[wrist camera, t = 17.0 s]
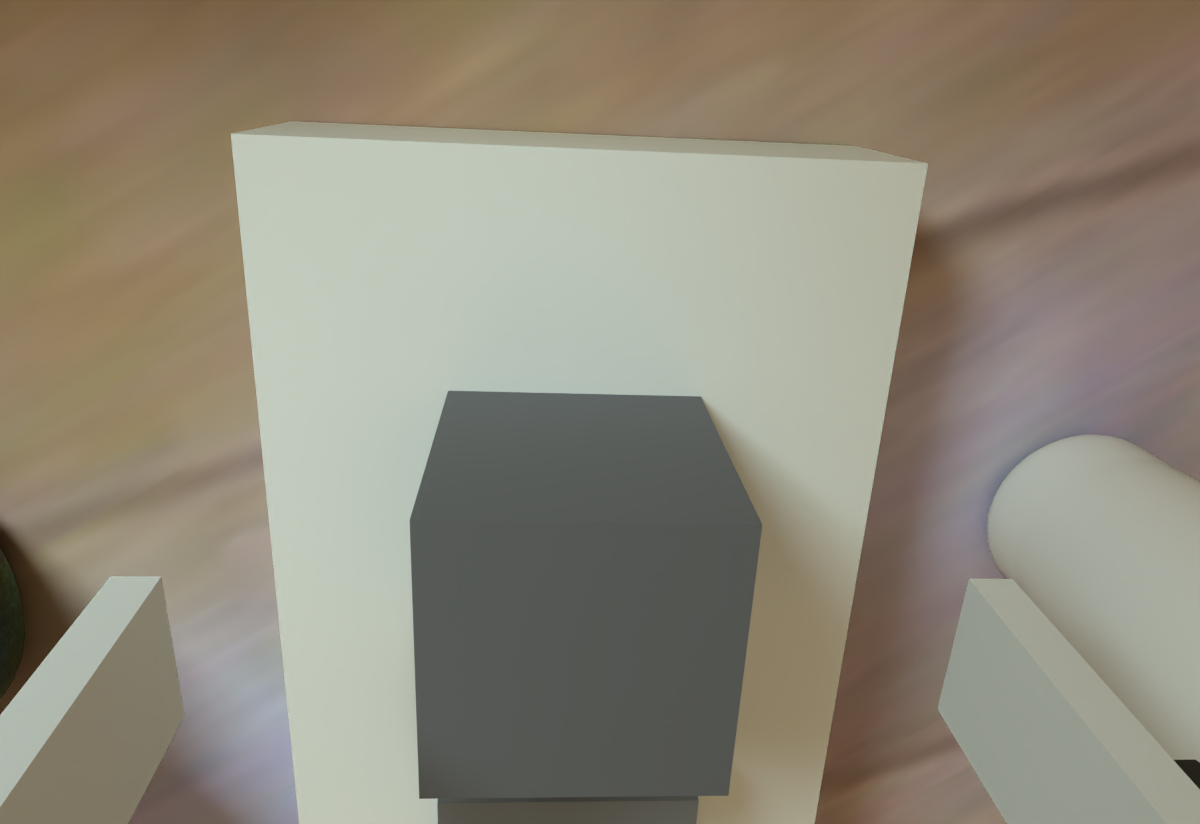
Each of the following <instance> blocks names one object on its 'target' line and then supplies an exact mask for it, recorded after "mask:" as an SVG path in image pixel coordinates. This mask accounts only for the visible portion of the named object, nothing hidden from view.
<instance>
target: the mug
mask: <svg viewBox="0 0 1200 824" xmlns="http://www.w3.org/2000/svg"><path fill="white" fill-rule="evenodd" d="M24 636H25V628H24V618H23V608H22V601H21V596H20V593H19V589H18V586H17V582H16V579H15V576H14V574H13V572H12V569H11V567H10V565H9V563H8V561H7V559H6V557H5V555H4V553H3V552H2V550H1V549H0V698H1V697H2V696H3V695H4V693H5V692H6V690H7V688H8V687H9V685H10V683H11V682H12V680H13V679H14V677H15V675H16V672H17V669H18V666H19V664H20V661H21V658H22V654H23V645H24Z"/></svg>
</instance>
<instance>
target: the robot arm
mask: <svg viewBox="0 0 1200 824" xmlns="http://www.w3.org/2000/svg"><path fill="white" fill-rule="evenodd" d="M937 709H938V711H939V712H940V714H941V716H942V717H943V719H944V721H945V722H946V724H947V726H948V727H949V729H950V731H951V732H952V734H953V736H954V737H955V739H956V741H957V742H958V744H959V746H960V747H961V749H962V751H963V752H964V754H965V756H966V757H967V759H968V761H969V762H970V764H971V766H972V767H973V769H974V770H975V772H976V774H977V775H978V777H979V779H980V780H981V782H982V784H983V785H984V787H985V789H986V790H987V792H988V794H989V795H990V797H991V799H992V800H993V802H994V804H995V805H996V807H997V809H998V810H999V812H1000V814H1001V815H1002V817H1003V819H1004V820H1005V822H1006V824H1200V762H1198V761H1197V760H1195V759H1191V760H1173V759H1172V758H1171V757H1170V756H1169V754H1168V753H1167V752H1166V751H1165V750H1164V749H1163V748H1162V747H1161V745H1160V744H1159V743H1158V742H1157V741H1156V740H1155V739H1154V738H1153V736H1152V735H1151V734H1150V733H1149V732H1148V731H1147V730H1146V729H1145V727H1144V726H1143V725H1142V724H1141V723H1140V722H1139V721H1138V720H1137V718H1136V717H1135V716H1134V715H1133V714H1132V713H1131V712H1130V711H1129V709H1128V708H1127V707H1126V706H1125V705H1124V704H1123V703H1122V702H1121V700H1120V699H1119V698H1118V697H1117V696H1116V695H1115V694H1114V693H1113V691H1112V690H1111V689H1110V688H1109V687H1108V686H1107V685H1106V684H1105V682H1104V681H1103V680H1102V679H1101V678H1100V677H1099V676H1098V674H1097V673H1096V672H1095V671H1094V670H1093V669H1092V668H1091V667H1090V665H1089V664H1088V663H1087V662H1086V661H1085V660H1084V659H1083V658H1082V656H1081V655H1080V654H1079V653H1078V652H1077V651H1076V650H1075V649H1074V647H1073V646H1072V645H1071V644H1070V643H1069V642H1068V641H1067V640H1066V638H1065V637H1064V636H1063V635H1062V634H1061V633H1060V632H1059V631H1058V629H1057V628H1056V627H1055V626H1054V625H1053V624H1052V623H1051V622H1050V620H1049V619H1048V618H1047V617H1046V616H1045V615H1044V614H1043V613H1042V611H1041V610H1040V609H1039V608H1038V607H1037V606H1036V605H1035V604H1034V602H1033V601H1032V600H1031V599H1030V598H1029V597H1028V596H1027V595H1026V593H1025V592H1024V591H1023V590H1022V589H1021V588H1020V587H1019V586H1018V584H1017V583H1016V582H1015V581H1014V580H1013V579H969V581H968V585H967V589H966V593H965V597H964V601H963V605H962V609H961V614H960V618H959V622H958V626H957V630H956V634H955V638H954V642H953V647H952V651H951V655H950V659H949V663H948V667H947V671H946V675H945V680H944V684H943V688H942V692H941V696H940V700H939V704H938V708H937ZM183 718H184V710H183V704H182V698H181V692H180V686H179V680H178V674H177V668H176V662H175V656H174V650H173V644H172V638H171V632H170V626H169V620H168V614H167V608H166V602H165V596H164V590H163V584H162V578H161V577H140V576H110V577H109V579H108V580H107V581H106V582H105V584H104V585H103V586H102V587H101V589H100V590H99V591H98V592H97V594H96V595H95V596H94V598H93V599H92V600H91V601H90V603H89V604H88V605H87V606H86V608H85V609H84V610H83V611H82V613H81V614H80V615H79V616H78V618H77V619H76V620H75V621H74V623H73V624H72V625H71V627H70V628H69V629H68V630H67V632H66V633H65V634H64V635H63V637H62V638H61V639H60V640H59V642H58V643H57V644H56V645H55V647H54V648H53V649H52V650H51V652H50V653H49V654H48V655H47V657H46V658H45V659H44V661H43V662H42V663H41V664H40V666H39V667H38V668H37V669H36V671H35V672H34V673H33V674H32V676H31V677H30V678H29V679H28V681H27V682H26V683H25V684H24V686H23V687H22V688H21V689H20V691H19V692H18V693H17V695H16V696H15V697H14V698H13V700H12V701H11V702H10V703H9V705H8V706H7V707H6V708H5V710H4V711H3V712H2V713H1V715H0V824H129V822H130V820H131V818H132V816H133V814H134V812H135V810H136V808H137V806H138V804H139V803H140V801H141V799H142V797H143V795H144V793H145V791H146V789H147V787H148V785H149V783H150V781H151V779H152V778H153V776H154V774H155V772H156V770H157V768H158V766H159V764H160V762H161V760H162V758H163V756H164V754H165V753H166V751H167V749H168V747H169V745H170V743H171V741H172V739H173V737H174V735H175V733H176V731H177V729H178V728H179V726H180V724H181V722H182V720H183Z"/></svg>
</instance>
